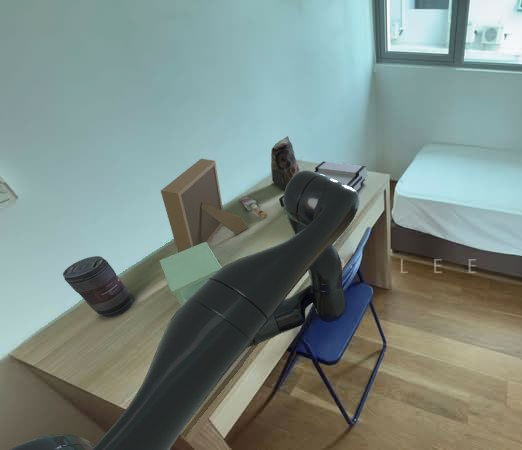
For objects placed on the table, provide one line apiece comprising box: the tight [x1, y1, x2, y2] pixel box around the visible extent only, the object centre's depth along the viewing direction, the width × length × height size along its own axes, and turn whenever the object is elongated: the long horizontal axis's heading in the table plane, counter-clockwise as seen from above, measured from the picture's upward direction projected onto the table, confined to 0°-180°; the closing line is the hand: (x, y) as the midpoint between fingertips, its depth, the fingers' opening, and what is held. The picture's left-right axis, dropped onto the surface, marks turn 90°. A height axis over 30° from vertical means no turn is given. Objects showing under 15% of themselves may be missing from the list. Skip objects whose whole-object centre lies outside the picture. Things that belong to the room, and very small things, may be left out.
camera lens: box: [62, 255, 134, 318], centre depth 78 cm, size 8×8×15 cm
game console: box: [278, 161, 368, 208], centre depth 124 cm, size 21×32×8 cm, turn 161°
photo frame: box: [160, 158, 248, 253], centre depth 99 cm, size 15×22×25 cm
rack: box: [159, 242, 223, 306], centre depth 86 cm, size 16×12×8 cm
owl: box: [270, 135, 300, 191], centre depth 132 cm, size 13×13×20 cm
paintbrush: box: [238, 196, 267, 219], centre depth 121 cm, size 4×3×20 cm
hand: (171, 357), depth 63 cm, fingers open, 7 cm apart
